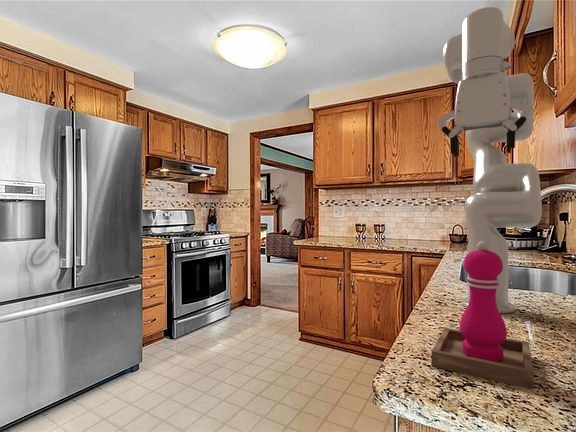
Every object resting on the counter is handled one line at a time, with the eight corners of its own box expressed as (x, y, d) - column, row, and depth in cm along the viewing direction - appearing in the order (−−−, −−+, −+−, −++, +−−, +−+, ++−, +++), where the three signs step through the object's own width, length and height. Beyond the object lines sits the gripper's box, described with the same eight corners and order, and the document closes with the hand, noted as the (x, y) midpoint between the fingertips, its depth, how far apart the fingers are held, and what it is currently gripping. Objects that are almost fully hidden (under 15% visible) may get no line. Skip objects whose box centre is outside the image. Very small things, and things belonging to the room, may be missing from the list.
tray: (444, 340, 69) (444, 327, 69) (528, 355, 61) (528, 342, 61) (431, 365, 57) (431, 351, 57) (533, 389, 50) (533, 372, 50)
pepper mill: (507, 352, 61) (507, 240, 60) (506, 367, 55) (506, 243, 54) (462, 343, 65) (462, 238, 64) (456, 357, 59) (457, 241, 58)
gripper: (531, 69, 70) (531, 153, 70) (440, 87, 79) (440, 160, 79) (533, 55, 63) (533, 147, 64) (434, 76, 73) (434, 155, 73)
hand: (481, 154), depth 71 cm, fingers open, 9 cm apart
